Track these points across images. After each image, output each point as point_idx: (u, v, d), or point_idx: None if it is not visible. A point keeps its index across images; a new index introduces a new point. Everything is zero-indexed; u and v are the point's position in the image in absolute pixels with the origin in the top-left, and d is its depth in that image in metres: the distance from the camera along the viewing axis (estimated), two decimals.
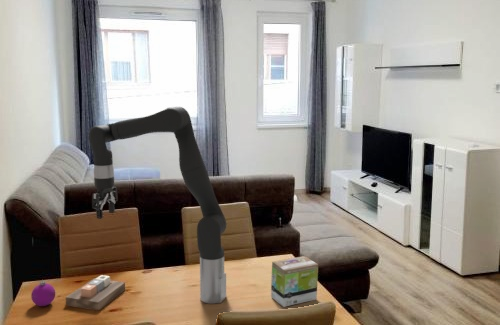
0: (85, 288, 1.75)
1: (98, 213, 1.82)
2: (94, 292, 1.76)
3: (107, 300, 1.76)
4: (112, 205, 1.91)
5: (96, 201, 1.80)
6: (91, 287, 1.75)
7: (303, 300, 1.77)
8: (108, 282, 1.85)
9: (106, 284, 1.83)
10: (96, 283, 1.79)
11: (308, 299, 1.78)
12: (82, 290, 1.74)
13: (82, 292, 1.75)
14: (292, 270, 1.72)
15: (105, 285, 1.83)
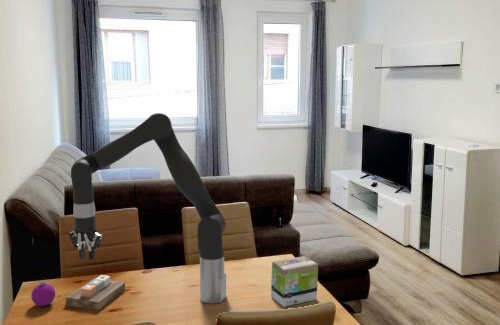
0: (85, 288, 1.75)
1: (93, 254, 1.73)
2: (94, 292, 1.76)
3: (107, 300, 1.76)
4: (84, 250, 1.74)
5: (100, 241, 1.72)
6: (91, 287, 1.75)
7: (303, 300, 1.77)
8: (108, 282, 1.85)
9: (106, 284, 1.83)
10: (96, 283, 1.79)
11: (308, 299, 1.78)
12: (82, 290, 1.74)
13: (82, 292, 1.75)
14: (292, 270, 1.72)
15: (105, 285, 1.83)
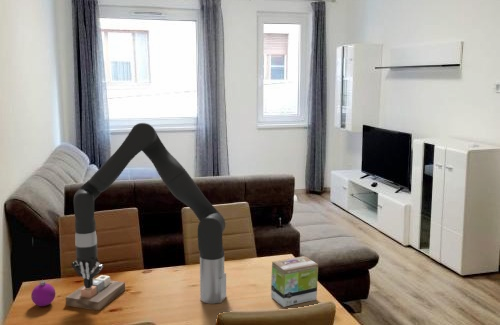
0: (85, 289, 1.75)
1: (91, 281, 1.75)
2: (94, 293, 1.76)
3: (107, 300, 1.76)
4: None
5: (99, 271, 1.74)
6: (91, 288, 1.75)
7: (303, 300, 1.77)
8: (108, 282, 1.85)
9: (106, 284, 1.83)
10: (96, 283, 1.79)
11: (308, 299, 1.78)
12: (82, 291, 1.74)
13: (82, 293, 1.75)
14: (292, 270, 1.72)
15: (105, 285, 1.83)
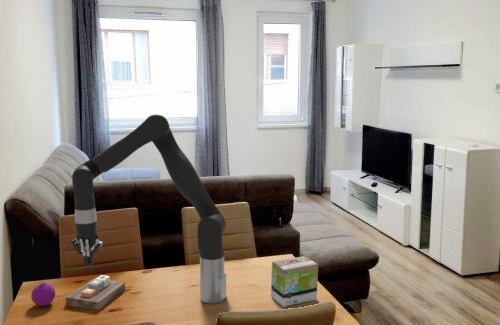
0: (85, 292, 1.75)
1: (92, 259, 1.74)
2: None
3: (107, 300, 1.76)
4: None
5: (99, 248, 1.73)
6: (91, 291, 1.76)
7: (303, 300, 1.77)
8: (108, 282, 1.85)
9: (106, 284, 1.83)
10: (96, 283, 1.79)
11: (308, 299, 1.78)
12: (82, 294, 1.75)
13: (82, 296, 1.75)
14: (292, 270, 1.72)
15: (105, 285, 1.83)
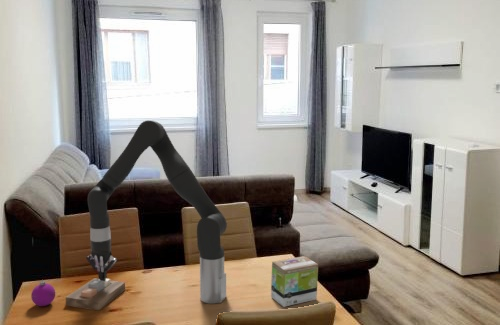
0: (85, 292, 1.75)
1: (105, 274, 1.84)
2: None
3: (107, 300, 1.76)
4: None
5: (113, 264, 1.83)
6: (91, 291, 1.76)
7: (303, 300, 1.77)
8: (108, 285, 1.85)
9: None
10: (96, 283, 1.79)
11: (308, 299, 1.78)
12: (82, 294, 1.75)
13: (82, 296, 1.75)
14: (292, 270, 1.72)
15: None
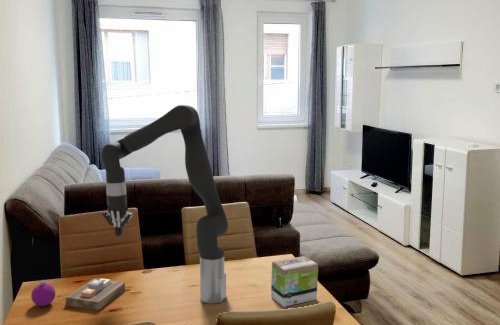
0: (85, 292, 1.75)
1: (122, 230, 1.87)
2: None
3: (107, 300, 1.76)
4: None
5: (129, 219, 1.86)
6: (91, 291, 1.76)
7: (303, 300, 1.77)
8: (108, 285, 1.85)
9: None
10: (96, 283, 1.79)
11: (308, 299, 1.78)
12: (82, 294, 1.75)
13: (82, 296, 1.75)
14: (292, 270, 1.72)
15: None
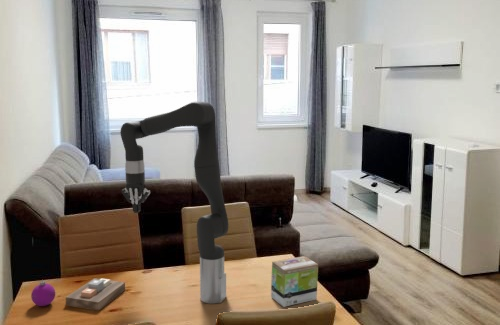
0: (85, 292, 1.75)
1: (139, 207, 1.93)
2: None
3: (107, 300, 1.76)
4: None
5: None
6: (91, 291, 1.76)
7: (303, 300, 1.77)
8: (108, 285, 1.85)
9: None
10: (96, 283, 1.79)
11: (308, 299, 1.78)
12: (82, 294, 1.75)
13: (82, 296, 1.75)
14: (292, 270, 1.72)
15: None
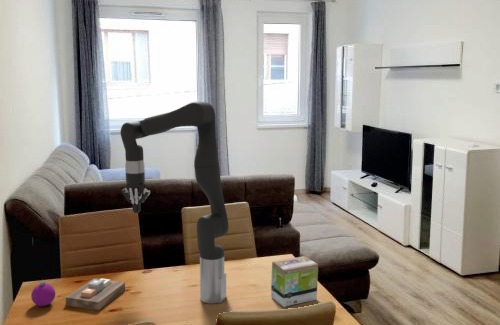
0: (85, 292, 1.75)
1: (139, 207, 1.93)
2: None
3: (107, 300, 1.76)
4: None
5: None
6: (91, 291, 1.76)
7: (303, 300, 1.77)
8: (108, 285, 1.85)
9: None
10: (96, 283, 1.79)
11: (308, 299, 1.78)
12: (82, 294, 1.75)
13: (82, 296, 1.75)
14: (292, 270, 1.72)
15: None
